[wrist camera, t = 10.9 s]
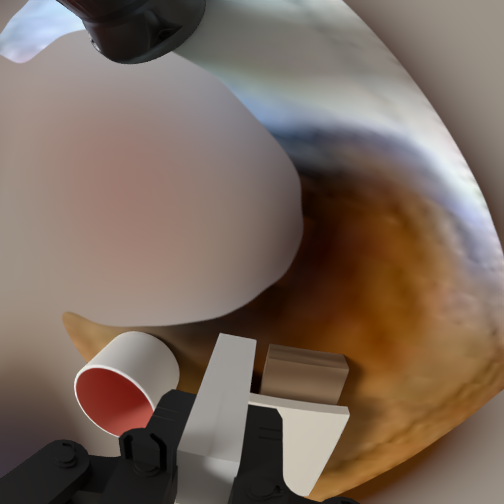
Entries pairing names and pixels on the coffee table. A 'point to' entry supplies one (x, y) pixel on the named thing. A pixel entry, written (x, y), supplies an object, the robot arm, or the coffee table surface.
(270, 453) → the robot arm
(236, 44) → the coffee table surface
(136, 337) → the cup
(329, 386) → the board
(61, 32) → the coffee table surface
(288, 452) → the shelf
